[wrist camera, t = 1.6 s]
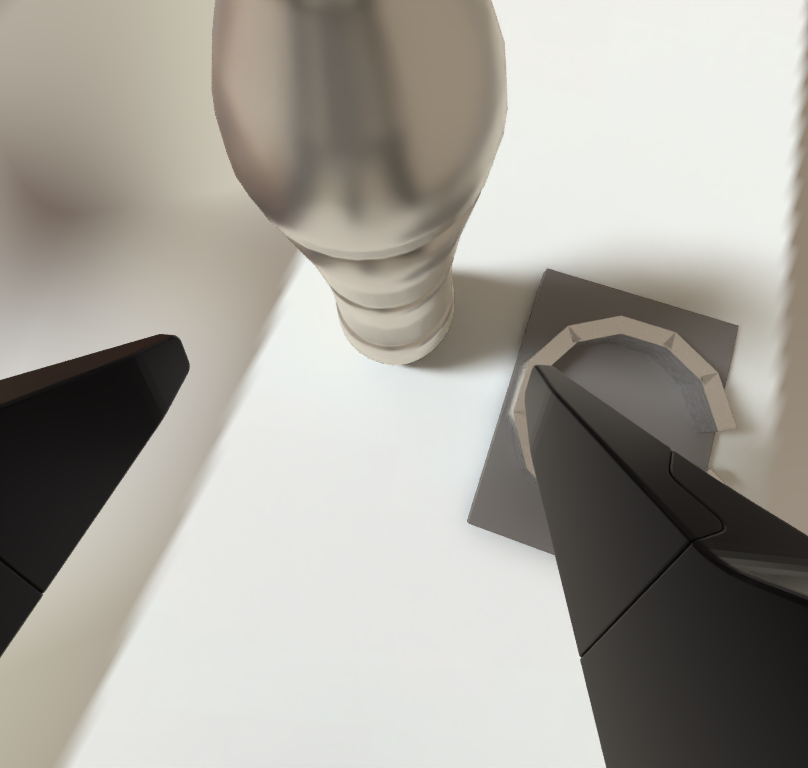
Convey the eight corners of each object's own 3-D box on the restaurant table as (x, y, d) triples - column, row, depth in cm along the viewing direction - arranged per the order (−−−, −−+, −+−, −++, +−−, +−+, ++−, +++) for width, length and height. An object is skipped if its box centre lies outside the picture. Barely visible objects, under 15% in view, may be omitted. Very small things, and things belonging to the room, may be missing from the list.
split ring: (684, 554, 19) (708, 564, 18) (484, 482, 20) (490, 486, 19) (726, 362, 21) (752, 355, 19) (539, 304, 22) (549, 293, 20)
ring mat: (670, 595, 19) (678, 600, 19) (467, 521, 20) (468, 523, 20) (729, 329, 22) (738, 325, 21) (543, 273, 23) (547, 268, 22)
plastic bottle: (467, 296, 23) (824, -709, 3) (420, 391, 22) (465, -107, 2) (377, 256, 23) (159, -788, 4) (328, 346, 22) (-330, -365, 3)
